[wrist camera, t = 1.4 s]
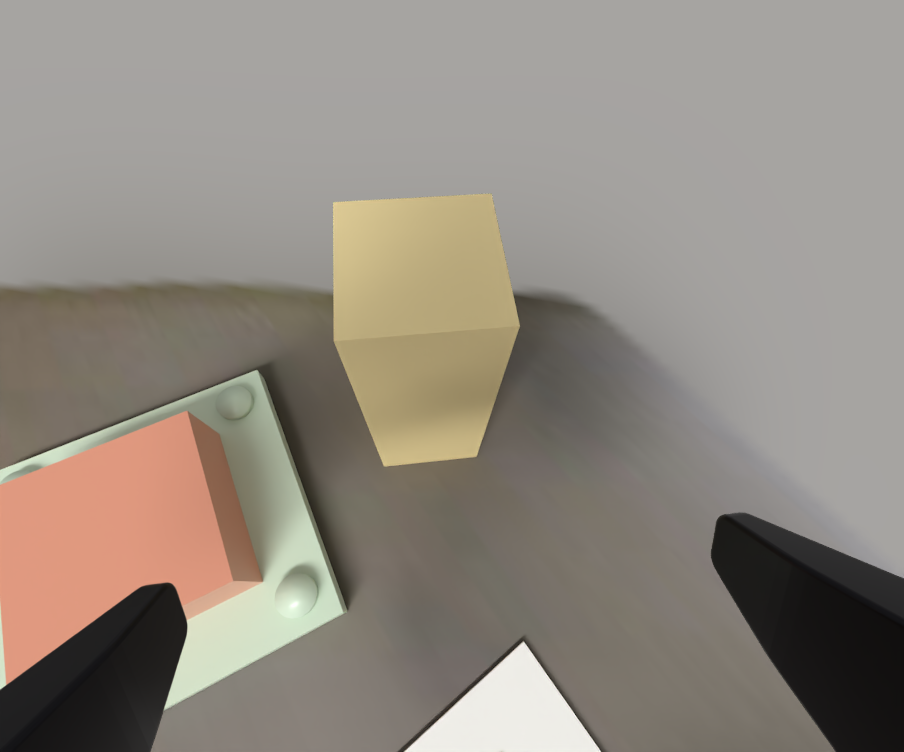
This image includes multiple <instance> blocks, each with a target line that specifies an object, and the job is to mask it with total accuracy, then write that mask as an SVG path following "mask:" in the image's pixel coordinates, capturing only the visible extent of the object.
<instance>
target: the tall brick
mask: <svg viewBox="0 0 904 752" xmlns="http://www.w3.org/2000/svg"><path fill="white" fill-rule="evenodd" d="M333 245H334V246H333V250H334V251H333V252H334V253H333V256H334V257H333V262H334V263H333V264H334V265H333V267H334V343H335V345H336V348H337V350H338V353H339V355H340V358H341V360H342V363H343V365H344V368H345V370H346V373H347V375H348V378H349V380H350V383H351V385H352V388H353V390H354V393H355V395H356V398H357V400H358V403H359V405H360V408H361V410H362V413H363V415H364V418H365V420H366V423H367V425H368V428H369V430H370V433H371V435H372V438H373V440H374V443H375V445H376V448H377V450H378V453H379V455H380V458H381V460H382V463H383V465H384V467H385V466H394V465H404V464H413V463H423V462H432V461H441V460H451V459H460V458H470V457H477V454H478V451H479V448H480V445H481V442H482V439H483V436H484V433H485V430H486V427H487V424H488V421H489V418H490V415H491V412H492V409H493V406H494V403H495V400H496V397H497V394H498V391H499V388H500V385H501V382H502V379H503V376H504V373H505V370H506V367H507V363H508V360H509V357H510V354H511V351H512V348H513V345H514V342H515V339H516V336H517V333H518V330H519V327H520V324H519V319H518V315H517V310H516V305H515V301H514V296H513V291H512V287H511V282H510V278H509V273H508V268H507V264H506V259H505V254H504V250H503V245H502V240H501V236H500V231H499V226H498V221H497V217H496V212H495V208H494V203H493V198H492V194H475V195H458V196H457V195H456V196H439V197H419V198H402V199H384V200H364V201H348V202H333Z"/></svg>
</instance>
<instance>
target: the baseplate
mask: <svg viewBox="0 0 904 752" xmlns="http://www.w3.org/2000/svg"><path fill="white" fill-rule="evenodd" d="M165 582H168V583H172V584H173V585H174V586H175V588H176V590H177V592H178V595H179V598H180V601H181V604H182V607H183V610H184V613H185V616H186V619H187V625H188V629H187V636H186V640H185V644H184V647H183V650H182V653H181V656H180V660H179V663H178V666H177V669H176V672H175V676H174V679H173V682H172V685H171V689H170V692H169V695H168V698H167V701H166V705H165V708H164V710H166V709H168V708H170V707H172V706H174V705H176V704H177V703H179V702H181V701H183V700H185V699H187V698H189V697H190V696H192V695H194V694H196V693H198V692H200V691H202V690H203V689H205V688H207V687H209V686H211V685H213V684H214V683H216V682H218V681H220V680H222V679H224V678H226V677H227V676H229V675H231V674H233V673H235V672H237V671H239V670H240V669H242V668H244V667H246V666H248V665H250V664H252V663H253V662H255V661H257V660H259V659H261V658H263V657H264V656H266V655H268V654H270V653H272V652H274V651H276V650H277V649H279V648H281V647H283V646H285V645H287V644H289V643H290V642H292V641H294V640H296V639H298V638H300V637H302V636H303V635H305V634H307V633H309V632H311V631H313V630H314V629H316V628H318V627H320V626H322V625H324V624H326V623H327V622H329V621H331V620H333V619H335V618H337V617H339V616H340V615H342V614H344V613H346V612H348V611H347V608H346V605H345V603H344V600H343V597H342V594H341V591H340V589H339V586H338V583H337V580H336V578H335V575H334V572H333V569H332V566H331V564H330V561H329V558H328V555H327V552H326V550H325V547H324V544H323V541H322V539H321V536H320V533H319V530H318V527H317V525H316V522H315V519H314V516H313V513H312V511H311V508H310V505H309V502H308V499H307V497H306V494H305V491H304V488H303V486H302V483H301V480H300V477H299V474H298V472H297V469H296V466H295V463H294V460H293V458H292V455H291V452H290V449H289V447H288V444H287V441H286V438H285V435H284V433H283V430H282V427H281V424H280V421H279V419H278V416H277V413H276V410H275V408H274V405H273V402H272V399H271V396H270V394H269V391H268V388H267V385H266V382H265V380H264V378H263V376H262V375H261V374H260V373H259V371H258V370H255V371H253V372H250V373H247V374H245V375H242V376H240V377H237V378H235V379H232V380H230V381H227V382H224V383H222V384H219V385H217V386H214V387H212V388H209V389H206V390H204V391H201V392H199V393H196V394H194V395H191V396H189V397H186V398H183V399H181V400H178V401H176V402H173V403H171V404H168V405H166V406H163V407H160V408H158V409H155V410H153V411H150V412H148V413H145V414H142V415H140V416H137V417H135V418H132V419H130V420H127V421H125V422H122V423H119V424H117V425H114V426H112V427H109V428H107V429H104V430H101V431H99V432H96V433H94V434H91V435H89V436H86V437H84V438H81V439H78V440H76V441H73V442H71V443H68V444H66V445H63V446H60V447H58V448H55V449H53V450H50V451H48V452H45V453H43V454H40V455H37V456H35V457H32V458H30V459H27V460H25V461H22V462H19V463H17V464H14V465H12V466H9V467H7V468H4V469H2V470H0V689H1V688H3V687H4V686H6V685H7V684H8V683H10V682H11V681H12V680H14V679H15V678H16V677H18V676H19V675H21V674H22V673H23V672H25V671H26V670H27V669H29V668H30V667H31V666H33V665H34V664H36V663H37V662H38V661H40V660H41V659H42V658H44V657H45V656H46V655H48V654H49V653H51V652H52V651H53V650H55V649H56V648H57V647H59V646H60V645H61V644H63V643H64V642H66V641H67V640H68V639H70V638H71V637H72V636H74V635H75V634H76V633H78V632H79V631H81V630H82V629H83V628H85V627H86V626H87V625H89V624H90V623H91V622H93V621H94V620H96V619H97V618H98V617H100V616H101V615H102V614H104V613H105V612H106V611H108V610H109V609H111V608H112V607H113V606H115V605H116V604H117V603H119V602H120V601H121V600H123V599H124V598H126V597H127V596H128V595H130V594H131V593H132V592H134V591H135V590H137V589H138V588H140V587H141V586H144V585H149V584H157V583H165Z"/></svg>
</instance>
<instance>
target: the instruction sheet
mask: <svg viewBox="0 0 904 752" xmlns="http://www.w3.org/2000/svg"><path fill="white" fill-rule="evenodd" d="M404 752H601V751H600V750H599V748H598V747H597V745H596V744H595V742H594V741H593V740H592V738H591V737H590V735H589V734H588V732H587V731H586V730H585V728H584V727H583V725H582V724H581V722H580V721H579V720H578V718H577V717H576V715H575V714H574V712H573V711H572V710H571V708H570V707H569V705H568V704H567V703H566V701H565V700H564V698H563V697H562V695H561V694H560V693H559V691H558V690H557V688H556V687H555V685H554V684H553V683H552V681H551V680H550V678H549V677H548V675H547V674H546V673H545V671H544V670H543V668H542V667H541V665H540V664H539V663H538V661H537V660H536V658H535V657H534V655H533V654H532V653H531V651H530V650H529V648H528V647H527V645H526V644H525V643H524V641H523V642H522V643H520V644H519V645H518V646H517V647H516V648H515V649H514V650H513V651H512V652H511V653H510V654H509V655H507V656H506V657H505V658H504V659H503V660H502V661H501V662H500V663H499V664H498V665H497V666H496V667H494V668H493V669H492V670H491V671H490V672H489V673H488V674H487V675H486V676H485V677H484V678H483V679H481V680H480V681H479V682H478V683H477V684H476V685H475V686H474V687H473V688H472V689H471V690H470V691H468V692H467V693H466V694H465V695H464V696H463V697H462V698H461V699H460V700H459V701H458V702H457V703H456V704H454V705H453V706H452V707H451V708H450V709H449V710H448V711H447V712H446V713H445V714H444V715H443V716H441V717H440V718H439V719H438V720H437V721H436V722H435V723H434V724H433V725H432V726H431V727H430V728H428V729H427V730H426V731H425V732H424V733H423V734H422V735H421V736H420V737H419V738H418V739H417V740H415V741H414V742H413V743H412V744H411V745H410V746H409V747H408V748H407V749H406V750H405V751H404Z"/></svg>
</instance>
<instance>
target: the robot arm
mask: <svg viewBox="0 0 904 752" xmlns="http://www.w3.org/2000/svg"><path fill="white" fill-rule="evenodd" d="M711 559H712V563H713V565H714V567H715V569H716V571H717V573H718V574H719V576H720V578H721V579H722V581H723V583H724V585H725V586H726V588H727V590H728V591H729V593H730V595H731V596H732V598H733V600H734V601H735V603H736V605H737V606H738V608H739V610H740V611H741V613H742V615H743V616H744V618H745V620H746V621H747V623H748V625H749V626H750V628H751V630H752V631H753V633H754V635H755V636H756V638H757V640H758V641H759V643H760V645H761V646H762V648H763V649H764V651H765V652H766V654H767V656H768V657H769V659H770V660H771V662H772V663H773V665H774V666H775V667H776V669H777V670H778V672H779V673H780V675H781V676H782V677H783V679H784V680H785V682H786V683H787V684H788V686H789V687H790V689H791V690H792V691H793V693H794V694H795V696H796V697H797V698H798V700H799V701H800V703H801V704H802V705H803V707H804V708H805V710H806V711H807V712H808V714H809V715H810V717H811V718H812V719H813V721H814V722H815V724H816V725H817V726H818V728H819V729H820V731H821V732H822V733H823V735H824V736H825V737H826V739H827V740H828V742H829V743H830V744H831V746H832V747H833V749H834V750H835V751H836V752H904V578H901V577H899V576H897V575H894V574H892V573H889V572H887V571H884V570H882V569H880V568H877V567H875V566H872V565H870V564H868V563H865V562H863V561H860V560H858V559H856V558H853V557H851V556H848V555H846V554H844V553H841V552H839V551H836V550H834V549H832V548H829V547H827V546H824V545H822V544H820V543H817V542H815V541H812V540H810V539H808V538H805V537H803V536H800V535H798V534H795V533H793V532H791V531H788V530H786V529H783V528H781V527H779V526H776V525H774V524H771V523H769V522H767V521H764V520H762V519H759V518H757V517H755V516H752V515H750V514H747V513H732V514H724V515H721V516H720V517H719V518H718V519H717V522H716V527H715V532H714V538H713V543H712V549H711ZM187 629H188V625H187V619H186V616H185V613H184V610H183V607H182V604H181V601H180V598H179V595H178V592H177V590H176V588H175V586H174V585H173V584H172V583H168V582H165V583H157V584H149V585H144V586H141V587H140V588H138V589H137V590H135V591H134V592H132V593H131V594H130V595H128V596H127V597H126V598H124V599H123V600H121V601H120V602H119V603H117V604H116V605H115V606H113V607H112V608H111V609H109V610H108V611H106V612H105V613H104V614H102V615H101V616H100V617H98V618H97V619H96V620H94V621H93V622H91V623H90V624H89V625H87V626H86V627H85V628H83V629H82V630H81V631H79V632H78V633H76V634H75V635H74V636H72V637H71V638H70V639H68V640H67V641H66V642H64V643H63V644H61V645H60V646H59V647H57V648H56V649H55V650H53V651H52V652H51V653H49V654H48V655H46V656H45V657H44V658H42V659H41V660H40V661H38V662H37V663H36V664H34V665H33V666H31V667H30V668H29V669H27V670H26V671H25V672H23V673H22V674H21V675H19V676H18V677H16V678H15V679H14V680H12V681H11V682H10V683H8V684H7V685H6V686H4V687H3V688H1V689H0V752H150V751H151V748H152V745H153V742H154V739H155V736H156V733H157V730H158V727H159V724H160V721H161V718H162V714H163V711H164V708H165V705H166V701H167V698H168V695H169V692H170V689H171V685H172V682H173V679H174V676H175V672H176V669H177V666H178V663H179V660H180V656H181V653H182V650H183V647H184V644H185V640H186V636H187Z"/></svg>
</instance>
